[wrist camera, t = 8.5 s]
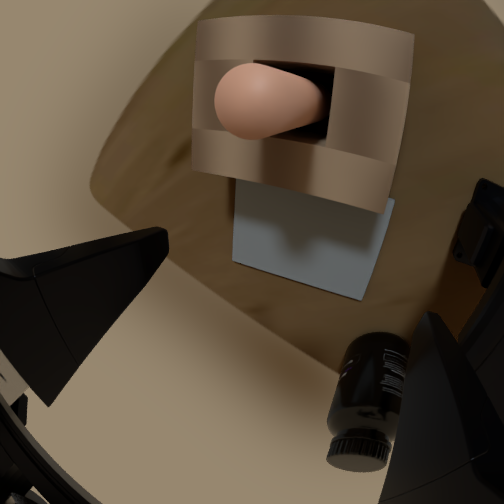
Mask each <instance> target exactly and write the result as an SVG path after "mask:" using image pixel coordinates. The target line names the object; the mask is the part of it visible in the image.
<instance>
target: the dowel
mask: <svg viewBox="0 0 504 504" xmlns="http://www.w3.org/2000/svg"><path fill="white" fill-rule="evenodd" d="M331 101H332V97H331V95H330V93H329V91H328V90H327V89H326V88H325V87H324V86H323V85H321V84H319V83H316V82H314V81H311V80H308V79H306V78H303V77H300V76H297V75H294V74H291V73H288V72H285V71H282V70H279V69H276V68H272V67H269V66H266V65H262V64H257V63H247V64H242V65H239V66H237V67H234V68H233V69H231V70H230V71H228V72H227V73H226V74H225V75H224V76H223V77H222V79H221V80H220V82H219V84H218V86H217V89H216V92H215V98H214V104H215V110H216V114H217V117H218V119H219V121H220V122H221V124H222V125H223V126H224V127H225V129H226V130H228V131H229V132H230V133H231V134H233V135H235V136H237V137H239V138H242V139H246V140H258V139H263V138H266V137H269V136H272V135H275V134H278V133H282V132H285V131H288V130H291V129H295V128H298V127H302V126H305V125H309V124H312V123H316V122H320V121H322V120H324V119H325V118H326V117H327V116H328V115H329V114H330V109H331Z"/></svg>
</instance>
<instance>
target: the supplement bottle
mask: <svg viewBox="0 0 504 504" xmlns="http://www.w3.org/2000/svg"><path fill="white" fill-rule="evenodd" d="M409 354H410V347H409V345H408V344H407V342H406V341H405V340H404V339H402V338H401V337H399V336H397V335H395V334H392V333H388V332H372V333H367V334H364V335H362V336H360V337H358V338H357V339H355V340H354V341H353V342H352V343H351V344H350V346H349V347H348V349H347V352H346V355H345V359H344V362H343V366H342V370H341V374H340V377H339V381H338V385H337V388H336V391H335V395H334V398H333V401H332V404H331V408H330V411H329V414H328V418H327V425H328V429H329V431H330V432H331V434H332V435H333V436H334V438H333V439H332V440H331V444H330V449H329V452H328V455H327V458H326V460H327V462H328V463H329V464H330V465H332V466H334V467H336V468H339V469H342V470H346V471H352V472H373V471H378V470H381V469H382V468H384V467H385V466H386V464H387V460H388V455H389V453H390V451H391V443H390V442H392V441H394V440H395V437H396V432H397V426H398V421H399V415H400V409H401V402H402V395H403V387H404V379H405V374H406V369H407V364H408V359H409Z"/></svg>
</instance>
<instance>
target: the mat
mask: <svg viewBox="0 0 504 504" xmlns="http://www.w3.org/2000/svg"><path fill="white" fill-rule="evenodd" d="M394 202H395V200H394V199H391V198H388V201H387V204H386V208H385V212H384V215H383V214H380V213H376V212H373V211H370V210H366V209H363V208H359V207H355V206H352V205H348V204H344V203H341V202H337V201H333V200H329V199H325V198H322V197H318V196H314V195H310V194H305V193H301V192H297V191H293V190H289V189H284V188H280V187H275V186H271V185H266V184H262V183H257V182H252V181H247V180H242V179H237V178H236V190H235V211H234V232H233V256H232V261H235V262H238V263H241V264H244V265H248V266H251V267H254V268H257V269H260V270H263V271H267V272H270V273H273V274H276V275H279V276H282V277H286V278H289V279H292V280H295V281H298V282H302V283H305V284H308V285H311V286H315V287H318V288H321V289H324V290H328V291H331V292H334V293H337V294H341V295H344V296H347V297H350V298H354V299H357V300H360V301H361V300H362V298H363V295H364V293H365V290H366V288H367V285H368V282H369V280H370V277H371V274H372V271H373V269H374V266H375V263H376V260H377V257H378V254H379V251H380V248H381V245H382V242H383V239H384V236H385V233H386V230H387V226H388V223H389V220H390V216H391V213H392V209H393V206H394Z"/></svg>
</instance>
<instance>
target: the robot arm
mask: <svg viewBox="0 0 504 504" xmlns="http://www.w3.org/2000/svg"><path fill="white" fill-rule="evenodd" d="M483 183H485V184H486V187H485V188H484V189H482V184H483ZM457 235H458V237H459V238H458V241H457V243H456V246H455V248H454V250H453V256H454V258H455V260H457V261H459V262H462V263H465V264H468V265H470V266H473V267H474V268H475V270H476V273H477V275H478V277H479V280H480V282H481V285H482V287H484V288H487V290H486V292H485V293H484V295H483V297H482V299H481V300H480V302H479V304H478V305H477V307H476V308H475V310H474V312H473V313H472V315H471V316H470V318H469V320H468V321H467V323H466V324H465V326H464V327H463V329H462V330H461V332H460V334H459V336H458V343H457V341H456V340H455V338H454V337H453V335H452V334H451V332H450V331H449V329H448V328H447V326H446V325H445V323H444V322H443V320H442V319H441V317H440V316H439V315H438V314H437V313H433V312H430V311H427V312H426V313H425V314H424V315H423V317H422V319H421V320H420V322H419V324H418V325H417V327H416V329H415V331H414V333H413V337H412V343H411V349H410V354H409V359H408V364H407V369H406V374H405V379H404V387H403V395H402V402H401V409H400V415H399V421H398V426H397V432H396V437H395V442H394V447H393V451H392V455H391V460H390V463H389V468H388V471H387V475H386V479H385V482H384V485H383V489H382V493H381V495H380V499H379V503H378V504H504V187H502V186H500V185H498V184H496V183H493V182H491V181H489V180H487V179H484V178H481V179H480V180H479V181H478V183H477V186H476V189H475V193H474V196H473V199H472V202H471V203H469V204H468V206H467V209H466V212H465V215H464V217H463V220H462V223H461V226H460V228H459V231H458V234H457ZM459 252H461V254H460V255H459V256H458V255H457V253H459ZM168 253H169V240H168V232H167V230H166V229H164V228H161V227H152V228H147V229H142V230H137V231H133V232H128V233H124V234H119V235H115V236H110V237H106V238H101V239H97V240H93V241H89V242H84V243H81V244H76V245H72V246H71V247H70V246H68V247H64V248H60V249H56V250H51V251H47V252H42V253H38V254H33V255H28V256H23V257H18V258H13V259H3V258H0V504H47V503H46V502H45V501H44V500H43V499H42V498H41V497H40V496H38V495H37V494H36V493H34V492H33V491H31V490H30V489H31V488H32V486H34V487H35V488H36V489H37V490H38V492H40V494H41V495H42V496H43V497H44V498H45V499H46V500H47V501H48V502H49V503H50V504H102V503H101V502H99V501H98V500H97V499H96V498H94V497H93V496H92V495H91V494H90V493H89V492H87V491H86V490H85V489H84V488H83V487H82V486H81V485H79V484H78V483H77V482H76V481H75V480H74V479H73V478H72V477H71V476H70V475H69V474H67V473H66V472H65V471H64V470H63V469H62V468H61V467H60V466H59V465H58V464H57V463H56V462H55V461H54V460H53V459H52V457H51V456H50V455H49V454H48V453H47V452H46V451H45V450H44V449H43V448H42V447H41V445H40V444H39V443H38V442H37V441H36V440H35V438H34V437H33V436H32V435H31V434H30V432H29V431H28V430H27V429H26V427H25V425H26V420H27V402H28V397H27V396H26V395H25V394H24V391H26V390H27V389H28V388H29V387H30V388H31V389H32V390H33V391H34V392H35V394H36V395H37V396H38V397H39V398H40V399H41V400H42V401H43V402H44V403H45V404H46V406H47V407H49V406H51V404H52V403H53V402H54V400H55V399H56V397H57V396H58V394H59V393H60V392H61V391H62V389H63V388H64V386H65V385H66V384H67V383H68V381H69V380H70V378H71V377H72V376H73V374H74V373H75V372H76V371H77V369H78V368H79V366H80V365H81V364H82V362H83V361H84V360H85V359H86V357H87V356H88V355H89V353H90V352H91V351H92V349H93V348H94V347H95V346H96V345H97V343H98V342H99V341H100V340H101V338H102V337H103V336H104V334H105V333H106V332H107V331H108V330H109V328H110V327H111V326H112V325H113V323H114V322H115V321H116V320H117V319H118V317H119V316H120V315H121V314H122V313H123V311H124V310H125V309H126V308H127V307H128V306H129V304H130V303H131V302H132V301H133V300H134V298H135V297H136V296H137V295H138V294H139V292H141V290H142V289H143V288H144V287H145V286H146V284H147V283H148V282H149V280H150V279H151V277H152V276H153V275H154V273H155V272H156V270H157V269H158V268H159V266H160V265H161V263H162V262H163V261H164V259H165V258H166V257H167V255H168Z"/></svg>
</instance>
